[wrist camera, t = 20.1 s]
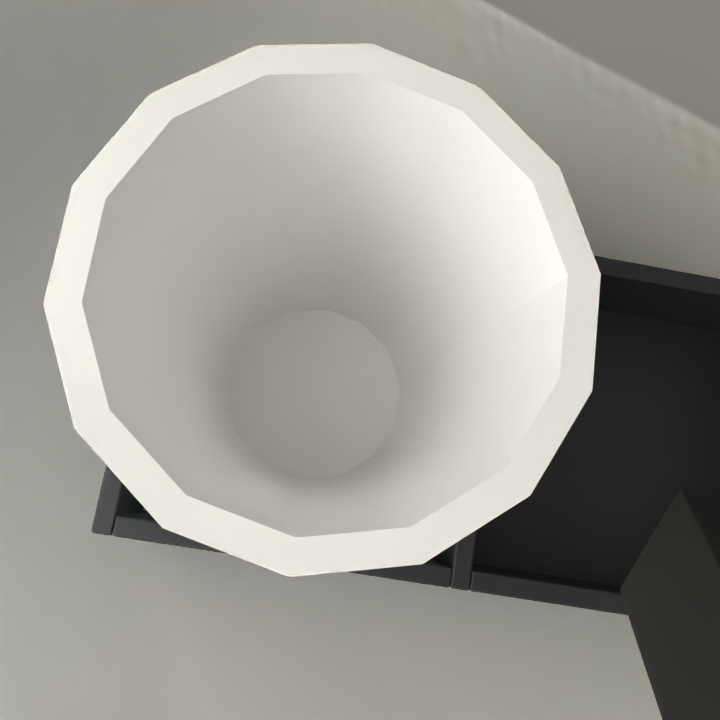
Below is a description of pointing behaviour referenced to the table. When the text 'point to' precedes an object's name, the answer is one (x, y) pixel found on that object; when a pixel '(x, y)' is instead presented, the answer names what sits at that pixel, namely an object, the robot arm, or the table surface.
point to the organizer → (579, 456)
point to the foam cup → (323, 308)
